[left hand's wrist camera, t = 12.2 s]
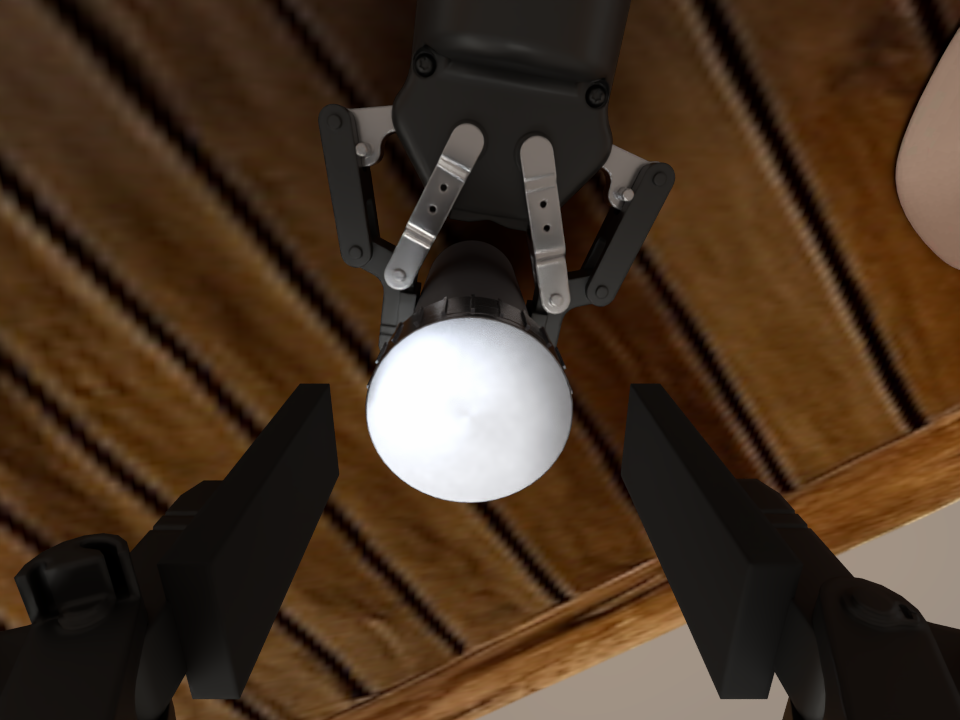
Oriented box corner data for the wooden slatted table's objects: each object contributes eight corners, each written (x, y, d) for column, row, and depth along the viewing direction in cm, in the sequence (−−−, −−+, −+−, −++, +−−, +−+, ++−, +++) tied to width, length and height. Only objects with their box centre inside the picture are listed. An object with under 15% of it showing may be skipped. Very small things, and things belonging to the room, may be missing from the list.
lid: (344, 417, 17) (327, 452, 15) (429, 256, 15) (423, 272, 13) (503, 492, 18) (507, 534, 16) (600, 350, 16) (617, 377, 14)
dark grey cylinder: (412, 300, 30) (354, 438, 16) (454, 223, 29) (433, 295, 14) (488, 340, 31) (500, 506, 16) (531, 267, 30) (588, 378, 15)
